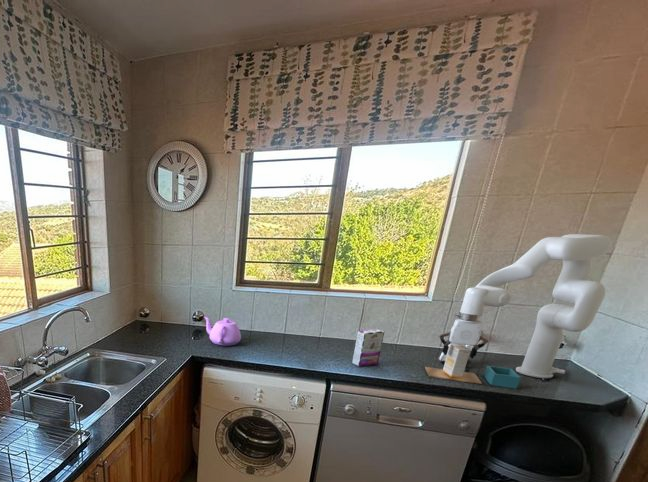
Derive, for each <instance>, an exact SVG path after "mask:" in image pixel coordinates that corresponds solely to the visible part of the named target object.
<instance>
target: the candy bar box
mask: <svg viewBox="0 0 648 482" xmlns="http://www.w3.org/2000/svg"><path fill="white" fill-rule="evenodd" d="M356 334H357V335H356V340H355V344H354V345H355V346H354V351H353V356H352V362H351V364H352V365H355V366H357V367H366V366H375V365H378V364H379V360H380V356H381V350H382V346H383V341H384V337H385V331H384V330H381V329H379V328H377V329H364V330H358V331H357V333H356Z"/></svg>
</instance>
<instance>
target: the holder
mask: <svg viewBox="0 0 648 482" xmlns="http://www.w3.org/2000/svg"><path fill="white" fill-rule="evenodd" d="M483 377H484V378H485V380H486V381H487V382H488V383H489V385H491V386H494V387H495V386H496V387H501V388H509V389H518V386H519V384H520V381H521V376H520V375H519V374H518V372H517V371H516V370H514V369H512V368H509V367H500V366H493V365H486V368H485V370H484V373H483Z"/></svg>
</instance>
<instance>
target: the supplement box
mask: <svg viewBox="0 0 648 482" xmlns="http://www.w3.org/2000/svg"><path fill="white" fill-rule="evenodd" d="M465 346H466V345H464V344H450V347H449V350H448V354H447V357H446V361H445V362H444V365H443V368H442V369H443V372H445V373H446V374H447V375H449V376H450V377H456V378H462V377H463V373H464V372H465V370H466V367H467V364H468V360H469V358H470V353H471V350H472V349H471V348H470V349H469V348H467V347H465Z"/></svg>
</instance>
